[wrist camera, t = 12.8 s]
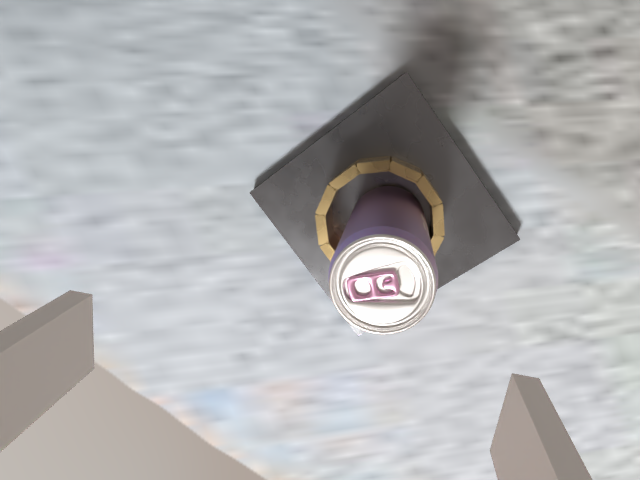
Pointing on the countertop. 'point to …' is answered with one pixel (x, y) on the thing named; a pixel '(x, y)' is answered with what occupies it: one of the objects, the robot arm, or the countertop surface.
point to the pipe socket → (385, 170)
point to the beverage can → (384, 263)
